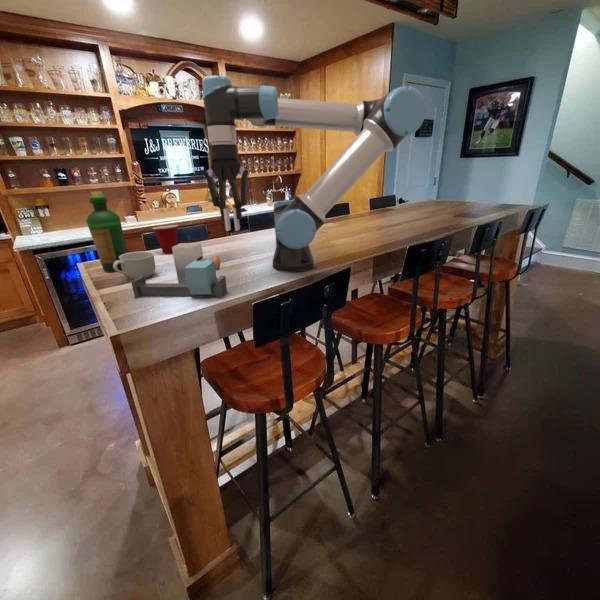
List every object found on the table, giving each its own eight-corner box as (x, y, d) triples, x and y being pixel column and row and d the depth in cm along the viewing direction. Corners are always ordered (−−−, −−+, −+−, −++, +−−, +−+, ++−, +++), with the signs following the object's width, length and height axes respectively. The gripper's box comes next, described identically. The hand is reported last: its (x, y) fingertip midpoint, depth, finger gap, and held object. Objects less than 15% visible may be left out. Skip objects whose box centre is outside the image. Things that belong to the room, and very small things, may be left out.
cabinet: (206, 278, 107) (201, 242, 103) (199, 284, 102) (193, 247, 97) (186, 278, 108) (180, 243, 103) (178, 284, 103) (171, 247, 98)
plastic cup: (178, 248, 150) (173, 222, 145) (186, 252, 142) (181, 225, 137) (154, 252, 144) (148, 226, 139) (161, 257, 136) (155, 228, 131)
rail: (227, 291, 95) (225, 275, 93) (221, 298, 90) (219, 281, 88) (144, 291, 97) (140, 276, 95) (135, 297, 93) (131, 281, 91)
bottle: (98, 269, 121) (75, 192, 111) (128, 263, 128) (110, 190, 117) (104, 275, 114) (80, 193, 103) (135, 269, 120) (116, 191, 109)
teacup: (149, 270, 118) (144, 249, 115) (164, 275, 112) (159, 253, 109) (109, 280, 109) (103, 257, 105) (123, 286, 102) (117, 262, 99)
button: (221, 267, 105) (219, 254, 103) (216, 272, 101) (214, 258, 99) (203, 268, 105) (201, 255, 103) (198, 272, 101) (196, 258, 99)
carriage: (217, 286, 96) (214, 260, 92) (209, 295, 89) (205, 267, 86) (198, 286, 96) (194, 260, 93) (189, 295, 90) (184, 267, 87)
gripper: (253, 144, 91) (260, 227, 100) (201, 146, 92) (213, 228, 101) (247, 142, 84) (254, 232, 93) (191, 144, 85) (204, 232, 94)
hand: (233, 230), depth 97 cm, fingers open, 2 cm apart
